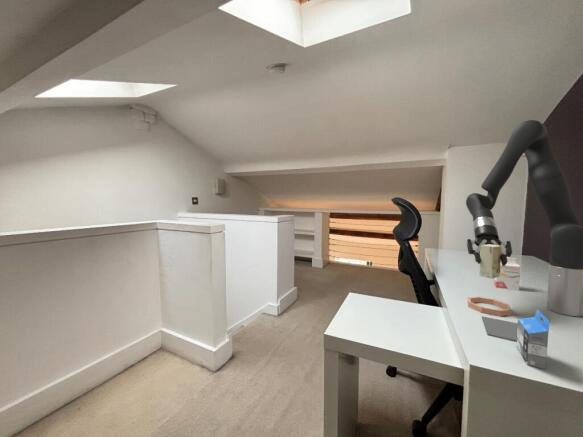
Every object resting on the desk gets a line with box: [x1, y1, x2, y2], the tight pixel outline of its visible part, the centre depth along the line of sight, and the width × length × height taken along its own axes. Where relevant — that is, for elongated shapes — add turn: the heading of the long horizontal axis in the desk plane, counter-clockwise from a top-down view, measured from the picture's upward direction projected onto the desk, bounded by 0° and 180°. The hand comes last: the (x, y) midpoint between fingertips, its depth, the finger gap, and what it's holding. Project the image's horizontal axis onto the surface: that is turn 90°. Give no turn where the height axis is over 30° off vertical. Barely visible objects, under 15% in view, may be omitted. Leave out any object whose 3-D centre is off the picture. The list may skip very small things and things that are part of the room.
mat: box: [481, 315, 518, 343], centre depth 77 cm, size 12×14×1 cm
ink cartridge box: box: [493, 256, 521, 291], centre depth 117 cm, size 9×5×15 cm, turn 58°
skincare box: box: [479, 244, 502, 279], centre depth 93 cm, size 6×4×12 cm
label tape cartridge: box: [516, 308, 551, 370], centre depth 63 cm, size 9×4×12 cm, turn 150°
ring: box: [466, 296, 513, 317], centre depth 94 cm, size 13×13×2 cm
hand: (491, 263), depth 91 cm, fingers closed on skincare box, 7 cm apart
